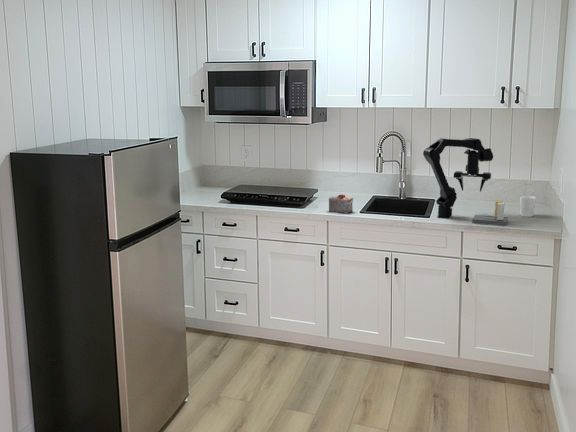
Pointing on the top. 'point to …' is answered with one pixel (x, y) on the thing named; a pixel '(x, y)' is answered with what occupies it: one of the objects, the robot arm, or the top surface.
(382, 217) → the top surface
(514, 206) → the top surface
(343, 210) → the food item
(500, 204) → the grey slider
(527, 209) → the white cup
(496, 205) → the amber slider
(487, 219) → the grey slotted board
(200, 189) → the top surface
